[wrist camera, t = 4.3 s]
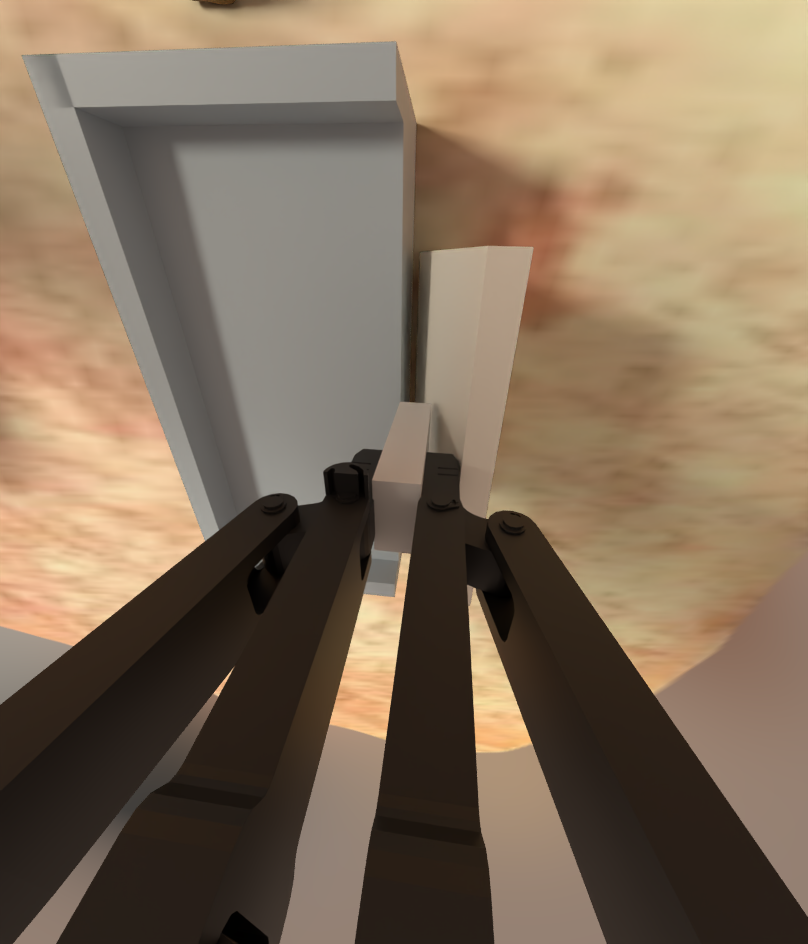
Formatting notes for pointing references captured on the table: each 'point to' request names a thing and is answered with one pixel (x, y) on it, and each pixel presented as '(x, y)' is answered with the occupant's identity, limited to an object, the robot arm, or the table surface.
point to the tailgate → (469, 355)
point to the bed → (251, 251)
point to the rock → (219, 1)
